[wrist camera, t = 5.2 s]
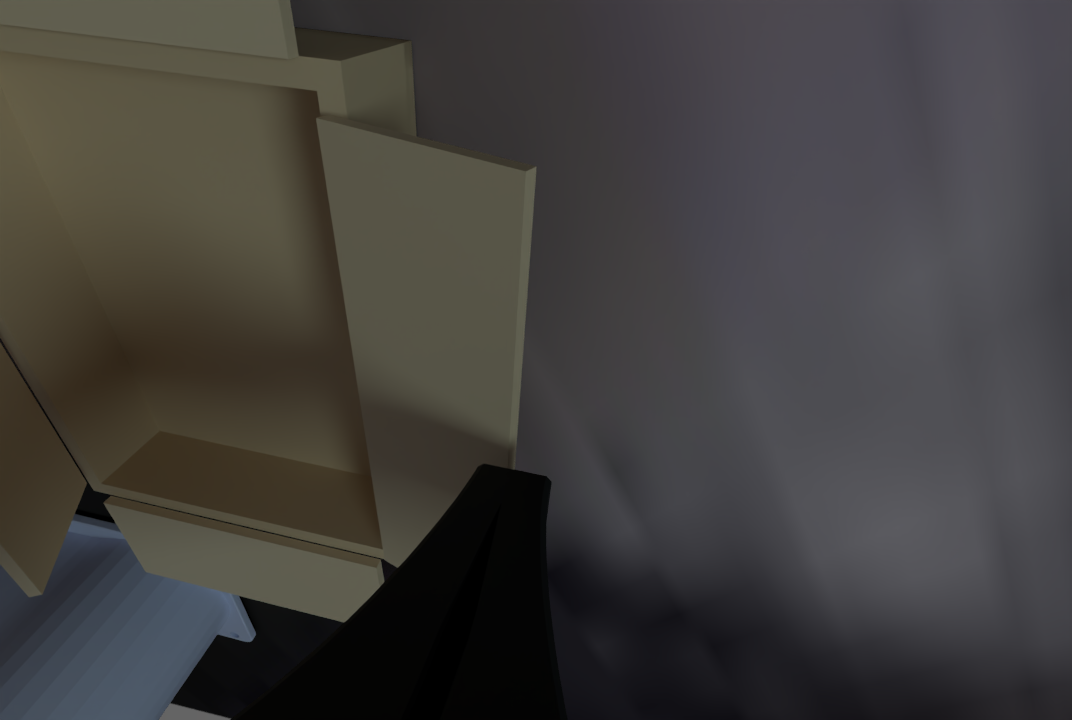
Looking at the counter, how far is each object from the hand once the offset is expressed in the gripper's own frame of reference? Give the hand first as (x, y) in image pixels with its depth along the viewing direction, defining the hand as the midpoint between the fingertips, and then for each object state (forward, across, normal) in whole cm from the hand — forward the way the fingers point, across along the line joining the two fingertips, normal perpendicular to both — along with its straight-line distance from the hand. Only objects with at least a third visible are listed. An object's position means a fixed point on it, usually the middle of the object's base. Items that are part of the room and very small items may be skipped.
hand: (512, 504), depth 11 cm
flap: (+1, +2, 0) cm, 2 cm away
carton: (+5, +9, 0) cm, 11 cm away
